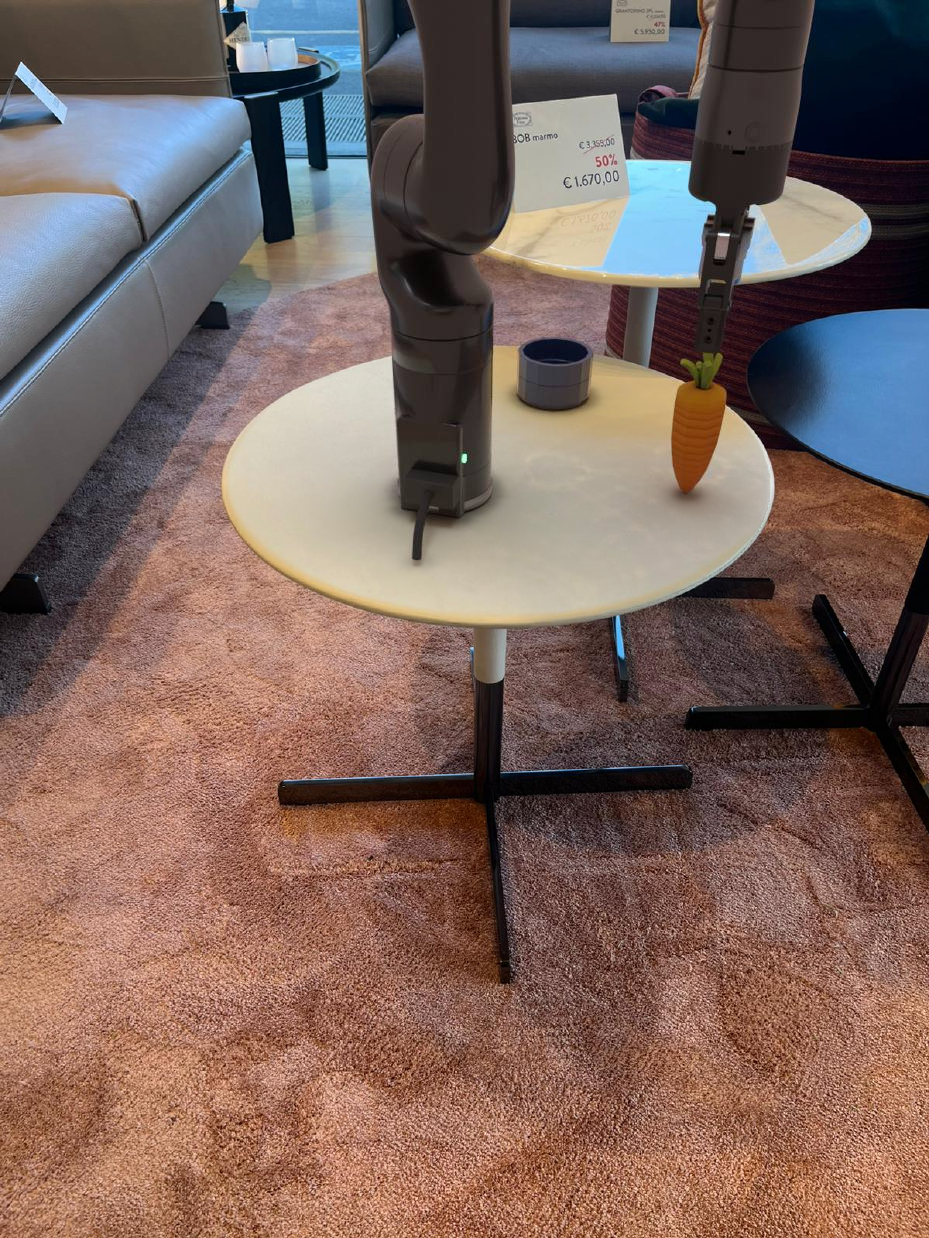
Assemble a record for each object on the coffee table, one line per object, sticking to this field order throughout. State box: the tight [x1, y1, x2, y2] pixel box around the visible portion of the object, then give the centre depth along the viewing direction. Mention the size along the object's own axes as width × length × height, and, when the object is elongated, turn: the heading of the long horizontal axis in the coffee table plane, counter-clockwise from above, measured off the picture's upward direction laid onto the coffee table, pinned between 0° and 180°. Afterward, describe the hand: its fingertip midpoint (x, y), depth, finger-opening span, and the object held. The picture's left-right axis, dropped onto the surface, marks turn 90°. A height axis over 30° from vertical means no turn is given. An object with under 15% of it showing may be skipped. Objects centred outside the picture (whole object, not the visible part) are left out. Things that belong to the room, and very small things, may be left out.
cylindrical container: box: [516, 336, 594, 411], centre depth 108 cm, size 9×9×6 cm
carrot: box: [670, 352, 727, 494], centre depth 88 cm, size 5×5×15 cm
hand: (712, 333), depth 82 cm, fingers open, 8 cm apart
